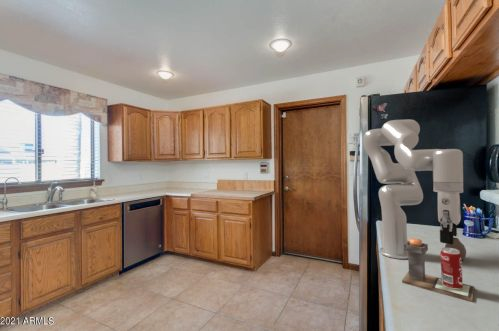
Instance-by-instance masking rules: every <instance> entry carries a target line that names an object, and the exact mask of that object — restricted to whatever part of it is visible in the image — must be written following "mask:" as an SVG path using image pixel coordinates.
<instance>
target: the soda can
mask: <svg viewBox="0 0 499 331" xmlns="http://www.w3.org/2000/svg"><path fill="white" fill-rule="evenodd" d="M459 252H460V251H459V250H457V249H454V248H445V247H442V248H441V251H440V270H441V278H442V284H443V286H445V287H446V288H449V289H452V290H461V289H462V288H463V284H464V283H463V265H462V264H463V263H462V261H463V260H461V254H460V253H459Z"/></svg>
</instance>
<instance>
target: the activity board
mask: <svg viewBox="0 0 499 331" xmlns="http://www.w3.org/2000/svg"><path fill="white" fill-rule="evenodd" d="M404 250H406V251H408V272H407V273H406V274H405V275H404V277H403V278H402V280H401V283H402V284H407V285H409V286H414V287H417V288H419V289H420V288H421V289H424V290H427V291H431V292H435V293H438V294H442V295H445V296H449V297H453V298H457V299H460V300H465V301H468V302H471V303H473V300H474V294H475V286H474V285H470V284H465V283H463V288H462V289H461V290H452V289H449V288H446V287H445V286H443V284H442V277H437V276H434V275H433V276H432V275H428V274H426V263H425V262H426V261H425V255H426V254H427V252H428V251H429V246H428V243H425V242H422V247H417V246H412V245H410V240H407V242H406V243H405V244H404Z"/></svg>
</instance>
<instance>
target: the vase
mask: <svg viewBox="0 0 499 331" xmlns="http://www.w3.org/2000/svg"><path fill="white" fill-rule="evenodd" d="M444 248H454V249H457V250H459V251H460V252H459V253H460V254H461V260H462V261H463V260H464V259H465V258H466V257H467V249H466V246H465V245H464V244H463V243H462V241H461V240H460V239H459V238H458V237H455V236H453V244H446V243H445V246H444Z"/></svg>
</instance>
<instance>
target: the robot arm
mask: <svg viewBox="0 0 499 331" xmlns="http://www.w3.org/2000/svg"><path fill="white" fill-rule="evenodd" d="M420 131H421V127H420V124H419V123H418V121H416V120H414V119H409V118H408V119H393V120H388V121H387V122H385V123H384V124H383V125H382V126H381V128H374V129H369V130H367V131H366V132H365V133H364V135H363V138H362V139H363V141H362V142H363V147H364V151H365V152H366V154H367V155H368V158H369V159H370V161H371V164H372V167H373V171H374V174H375V177H376V179H377V181H378V182H379V183H380V184H386V185H382V186H381V187H380V188H379V189H378V198H379V202H380V207H381V208H380V209H381V222H382V223H381V224H382V226H381V228H382V243H383V244H382V246H383V247H381V248H379V253H380V254H381V255H383V256H385V257H387V258H390V259H392V258H393V259H397V260H398V259H399V260H405V259H406V260H407V259H408V251H406V250H404V244H405V243H406V242H407V241H408V226H407V224H408V223H407V215H406V213H405V211H404V210H403V208H402V207H401V206H416V205H419V204H421V203H422V202H423V199H424V193H423V189H422V187H421V184H420V182H419V179H418V177H417V174H416V172H422V171H423V172H425V171H428V172H429V171H432V181H433V182H432V184H433V185H432V186H433V190H432V192H435V193H437V220H438V222H439V223H440V226H439V227H440V228H439V242H440V243H442V244H445V245H446V244H453V237H457V236H458V232H457V231H458V229H457V228H458V227H457V226H458V225H459V224H460V222H461V219H462V218H461V217H462V215H461V199H460V198H461V196H460V194H462V193H464V163H463V162H464V153H463V151H462V150H461V149H458V148H446V149H445V148H444V149H443V148H442V149H440V148H434V149H433V148H432V149H431V148H430V149H429V148H428V149H414V148H415V147H416V146H417V145H418V143H419V141H420V140H419V139H420V138H419V134H420ZM383 146H394V150H393V151H394V153H393V154H394V156H395V160H396V161H397V163H395V162H393V160H392V158H391V155H390V153H389V152H388V151H387V150H386V149H384V148H383Z"/></svg>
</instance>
